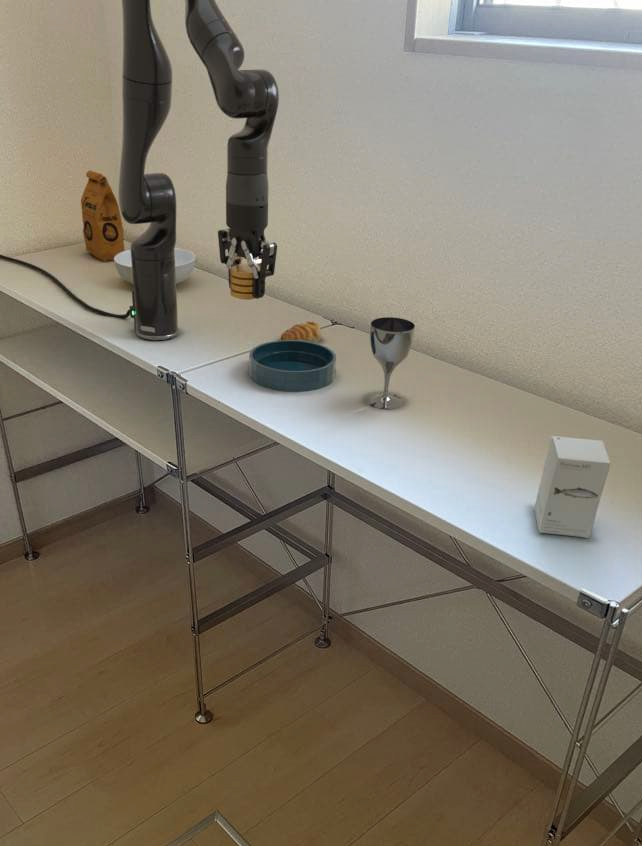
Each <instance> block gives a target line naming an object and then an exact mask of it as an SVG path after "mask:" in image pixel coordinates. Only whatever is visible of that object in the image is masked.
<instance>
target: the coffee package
mask: <svg viewBox="0 0 642 846" xmlns="http://www.w3.org/2000/svg"><path fill="white" fill-rule="evenodd" d="M85 176H86V178H88V180H87V183H86V185H85V187H84V190H83V192H82V196H81V198H80V206H81V207H80V208H81V216H82V217H81V219H82V224H83V225H82V227H83V228H82V234H83V238H84V243H85V251H87V252H88V253H89V254H92V255H93V256H94V257H95V258H97V259H98V260H101V261H102V262H107V261H110V262H111V261H114V257H115V256H116V255H117V254H119V253H121V252H123V251H125V235H124V226H123V222H122V214H121V211H120V206H119V203H118V200H117V198H116V196H115V194H114V192H113V189H112V187H111V185H110V184H109V181H108V179H107V176H105V175H103V174H102V173H100V172H97V171H93V170H88V171H87V172H86V174H85Z"/></svg>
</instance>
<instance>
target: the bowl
mask: <svg viewBox="0 0 642 846" xmlns="http://www.w3.org/2000/svg"><path fill="white" fill-rule="evenodd" d="M336 364H337V355H336V353H335V352H334V350H332V349H331V348H329V347H328V346H326V345H323V344H320V343H317V342H308V341H300V340H281V339H280V340H279V339H278V340H273V341H267V342H263V343H261V344H258V345H256V346H254V347H253V348H252V349H251V350H250V351H249V356H248V376H249V378H250V379H251V380H252V382H254V383H255V384H257V385H260V386H261V387H263V388H267V389H270V390H275V391H281V392H292V393H293V392H295V393H297V392H298V393H299V392H309V391H310V392H311V391H315V390H319V389H322V388H325V387H327V386H329V385H330V384H332V383H333V381H334V380H335V379H336Z"/></svg>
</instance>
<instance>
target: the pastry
mask: <svg viewBox="0 0 642 846" xmlns="http://www.w3.org/2000/svg"><path fill="white" fill-rule="evenodd" d="M323 337H324V334H323V333H322V330H321V328H320V325H319V324H318V323H317V322H315V321H307V322H306V323H303V322H302V323H298V324H297V323H296V324H294V325H293V326H291V327H290V328H289V329H287V330H284V332H283V333H282V334H281V335H280V340H300V341H308V342H313V343H317V342H320V341H322V340H323Z"/></svg>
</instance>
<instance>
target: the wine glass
mask: <svg viewBox="0 0 642 846" xmlns="http://www.w3.org/2000/svg"><path fill="white" fill-rule="evenodd" d="M415 329H416V325H415V323H413V322H412V321H410V320H408V319H405V318H400V317H389V316H387V317H379V318H375V319H373V320H372V321H371V322H370V329H369V344H370V345H369V346H370V350H371V354H372V357H374V359H375V360H376V361H377V363H378V364H379V365H380V367H381V369H382V371H383V377H384V378H383V380H384V381H383V382H384V383H383V385H384V386H383V393H381V394H376V395H374V396H373V397H372V399H373V401H374V403H372V404H370V406H372V407H374V408H376V409H380V410H381V409H383V410H391V409H392V410H394V409H398V408H401V407H403V405H404V399H403V398H401V397H400V396H398V395H395V394H394V395H391V394H389V386H390V381H391V376H392V374H393V372H394V370H395V369H396V368H397V367H399V365H401V363H403V362H404V361H405V360H406V359H407V357H408V355H409V354H410V351H411V348H412V346H413V342H414V337H415Z"/></svg>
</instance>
